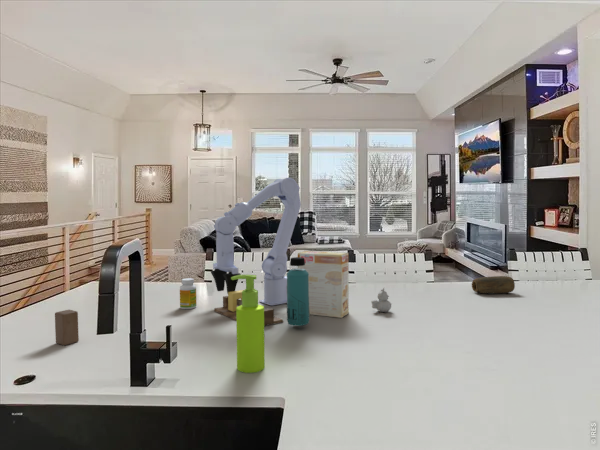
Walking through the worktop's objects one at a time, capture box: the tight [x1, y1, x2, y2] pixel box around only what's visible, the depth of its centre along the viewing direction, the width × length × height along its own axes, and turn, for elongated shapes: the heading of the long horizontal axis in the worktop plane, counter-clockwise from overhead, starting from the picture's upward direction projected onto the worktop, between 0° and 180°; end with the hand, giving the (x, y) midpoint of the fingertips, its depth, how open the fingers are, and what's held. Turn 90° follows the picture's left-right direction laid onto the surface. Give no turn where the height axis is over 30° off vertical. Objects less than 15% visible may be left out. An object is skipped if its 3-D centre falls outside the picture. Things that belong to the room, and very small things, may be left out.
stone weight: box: [471, 275, 516, 294], centre depth 167 cm, size 15×7×7 cm, turn 97°
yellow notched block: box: [227, 289, 244, 312], centre depth 139 cm, size 3×6×6 cm, turn 127°
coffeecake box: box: [297, 250, 350, 319], centre depth 138 cm, size 15×7×20 cm, turn 65°
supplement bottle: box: [179, 277, 197, 310], centre depth 146 cm, size 5×5×10 cm
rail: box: [213, 295, 284, 327], centre depth 135 cm, size 25×10×4 cm, turn 37°
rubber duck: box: [371, 287, 392, 313], centre depth 140 cm, size 5×7×8 cm
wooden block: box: [54, 309, 80, 346], centre depth 110 cm, size 4×4×8 cm
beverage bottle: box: [286, 256, 310, 327], centre depth 122 cm, size 6×7×20 cm
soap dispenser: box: [231, 274, 266, 374], centre depth 92 cm, size 6×7×20 cm
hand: (225, 292), depth 146 cm, fingers open, 7 cm apart
